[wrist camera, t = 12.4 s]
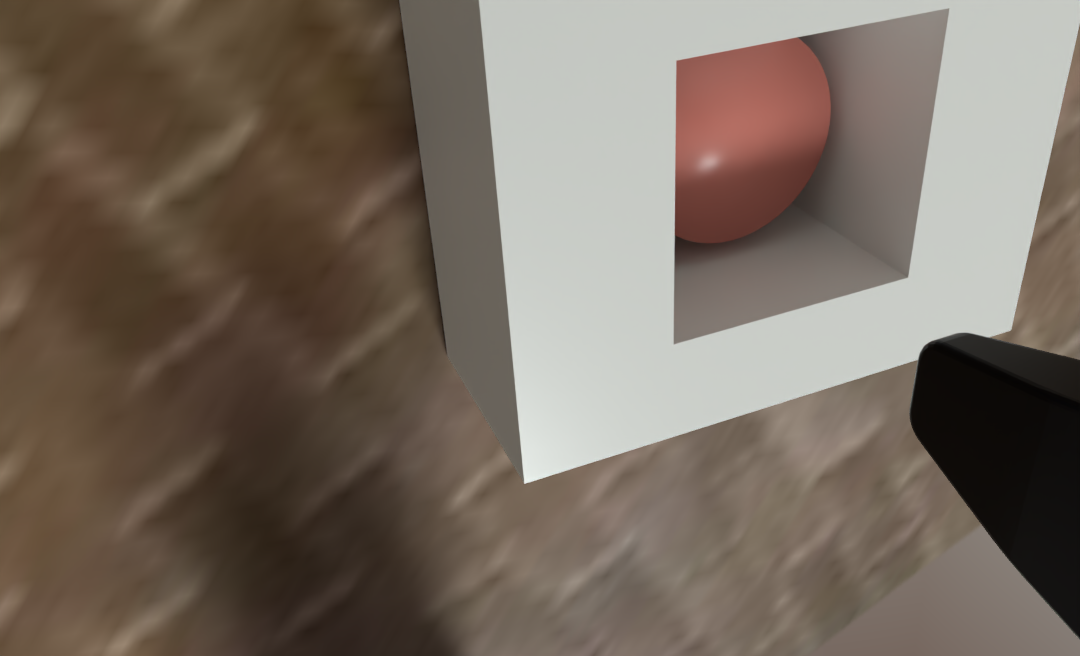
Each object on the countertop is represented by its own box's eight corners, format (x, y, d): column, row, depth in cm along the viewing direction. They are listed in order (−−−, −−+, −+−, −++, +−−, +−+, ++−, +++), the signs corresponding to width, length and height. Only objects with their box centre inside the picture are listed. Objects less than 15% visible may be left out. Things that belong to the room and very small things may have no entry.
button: (596, 227, 22) (636, 264, 21) (588, 22, 20) (633, 47, 18) (770, 186, 24) (820, 217, 22) (783, -11, 21) (841, 8, 20)
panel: (447, 356, 23) (524, 483, 19) (385, -103, 18) (473, -59, 14) (870, 242, 27) (1011, 330, 23) (923, -170, 21) (1118, -152, 17)
